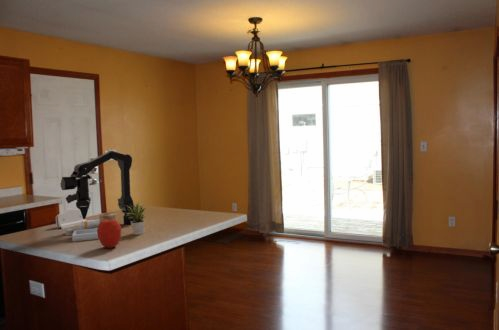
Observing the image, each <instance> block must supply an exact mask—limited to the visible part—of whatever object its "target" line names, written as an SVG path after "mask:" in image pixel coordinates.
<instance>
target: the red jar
mask: <svg viewBox="0 0 499 330" xmlns="http://www.w3.org/2000/svg"><path fill="white" fill-rule="evenodd" d="M97 234H98V238H99V239H98V240H99V242H100V244H101V245H102V246H103V247H104V248H106V249H112V248H116V246H117V245H118V244H119V242H120V240H121V236H122V226H121V224H120V223H119V221H117V219H116V220H113V219H106V220H103V221H102V222H101V223H100V224H99V226H98V229H97Z"/></svg>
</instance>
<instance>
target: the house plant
mask: <svg viewBox="0 0 499 330" xmlns="http://www.w3.org/2000/svg"><path fill="white" fill-rule="evenodd" d="M126 206H127V205H126ZM133 206H134V208H133V210H134V212H135V213H134V212H133V210H132V209H131V208H130V207H129V206H128V207H129V208H130V209H131V211H132V212H133V213H132V212H131V211H130V209H129V211H130V212H131V213H126V214H128V215H129V214H133V216H134V215H135V216H134V217H135V218H134V217H133V216H132V215H129V216H130V217H131V216H132V217H131V218H132V219H134V221H131V224H130V225H131V230H132V234H133V235H134V236H135V235H137V236H139V235H143V234H144V233H145V224H146V220H145V219H144V218H145V216H144V215H145V213H144V212H145V210H146V209H147V206H145V207H143V206H142V204H141V203H140V202H136V203H135V204H134V205H133ZM127 210H128V208H127ZM143 213H144V214H143ZM148 213H149V212H146V214H148ZM128 215H127V216H128ZM130 217H128V218H130ZM131 218H130V219H131Z"/></svg>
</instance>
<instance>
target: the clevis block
mask: <svg viewBox="0 0 499 330" xmlns="http://www.w3.org/2000/svg"><path fill="white" fill-rule="evenodd" d="M98 219H100V223H101V222H102V221H103V220H106V219H113V220H116V221H117V219H116V212H105V213H104V212H103V213H99V217H98ZM91 229H95V228H91ZM75 230H85V229H81V227H76V228H65V231H64V234H65V236H72V235H73V232H74V231H75Z"/></svg>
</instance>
